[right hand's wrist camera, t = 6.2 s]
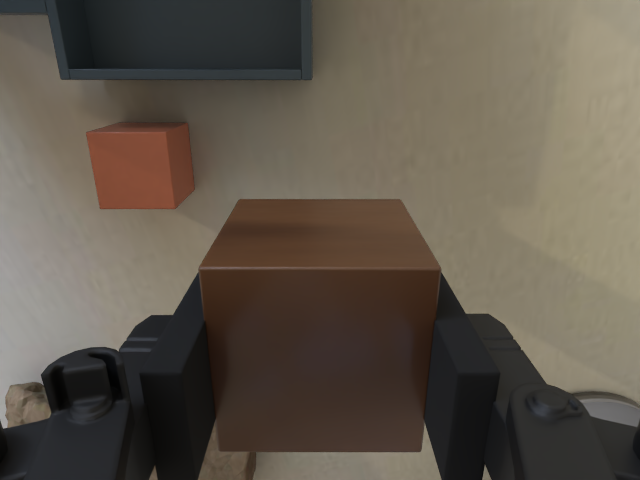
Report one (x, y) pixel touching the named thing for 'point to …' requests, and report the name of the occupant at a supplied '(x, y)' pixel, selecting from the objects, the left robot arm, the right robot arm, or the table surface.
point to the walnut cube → (319, 326)
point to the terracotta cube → (141, 165)
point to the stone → (215, 476)
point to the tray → (177, 38)
